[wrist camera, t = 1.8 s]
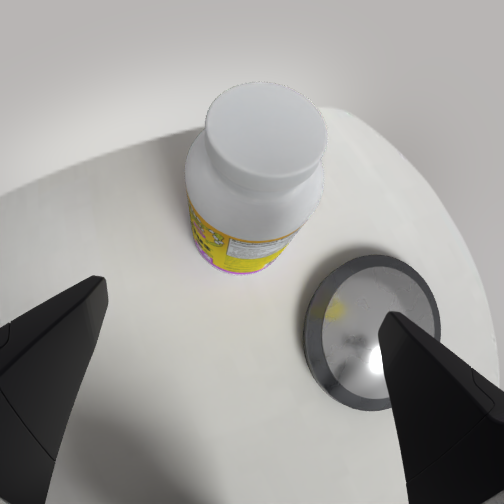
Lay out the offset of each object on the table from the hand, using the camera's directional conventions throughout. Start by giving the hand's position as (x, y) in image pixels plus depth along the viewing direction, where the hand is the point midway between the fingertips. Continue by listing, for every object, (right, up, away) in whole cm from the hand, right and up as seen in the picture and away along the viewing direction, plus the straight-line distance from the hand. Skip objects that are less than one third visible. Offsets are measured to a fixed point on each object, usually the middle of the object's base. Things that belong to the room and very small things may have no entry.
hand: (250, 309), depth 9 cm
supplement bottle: (-1, +3, +14) cm, 14 cm away
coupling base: (+10, -5, +13) cm, 17 cm away
